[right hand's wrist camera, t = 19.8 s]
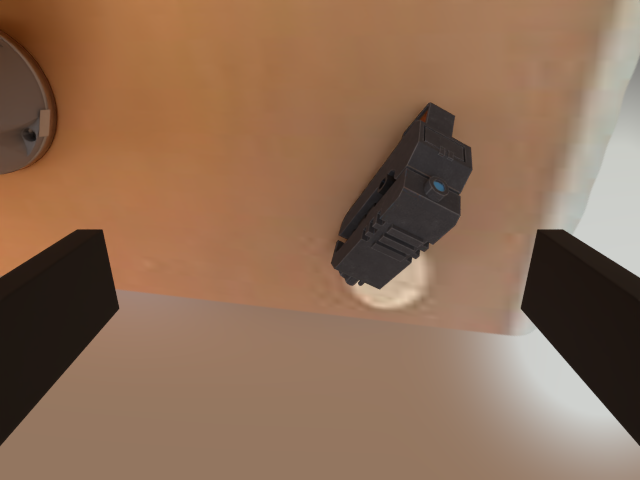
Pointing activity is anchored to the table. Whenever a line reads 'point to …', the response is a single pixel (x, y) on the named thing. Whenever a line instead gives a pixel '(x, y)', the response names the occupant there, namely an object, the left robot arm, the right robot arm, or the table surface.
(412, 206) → the tool
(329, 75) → the table surface
